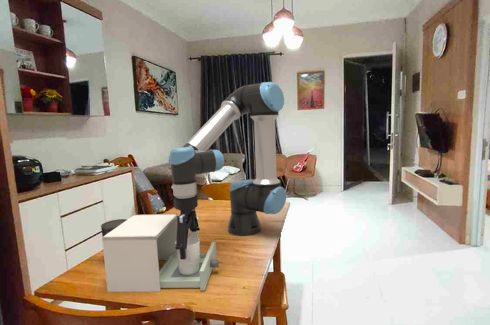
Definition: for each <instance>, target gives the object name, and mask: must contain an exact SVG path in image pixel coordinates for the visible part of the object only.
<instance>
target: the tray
mask: <svg viewBox="0 0 490 325" xmlns="http://www.w3.org/2000/svg"><path fill="white" fill-rule="evenodd" d="M216 245H217V242H216V241H212V242H211V243H210V245H209V248H208V251H207V253H200V269H199V271H198V272H197V273H195V274H191V275H183V274H180V272H179V268H178V262H177V255H176V254H171V256H170V257H169V258H168V260H166V261H165V262H164V264H163V265H162V267H161V268H160V269H159V276H160V289H163V288H164V289H165V288H166V289H168V288H170V289H171V288H173V289H174V288H179V289H181V288H183V289H184V288H187V289H188V288H191V289H192V288H197V289H198V288H200V291H206V287H207V285H208V282H209V279H210V276H211V274H212V271H213V268H219V259H217V246H216Z"/></svg>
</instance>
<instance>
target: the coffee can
mask: <svg viewBox="0 0 490 325" xmlns="http://www.w3.org/2000/svg"><path fill="white" fill-rule="evenodd" d="M128 219H129V218H127V219H125V218H119V219H112V220H108V221H106V222H104V223H101V225H100V228H101V236H102V237H104V236H105V235H106V234H108V233H109V232H111V231H112V230H114V229H115V228H116V227H118V226H119V225H121V224H122V223H123V222H125V221H126V220H128ZM102 237H101V238H102Z"/></svg>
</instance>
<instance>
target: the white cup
mask: <svg viewBox="0 0 490 325" xmlns="http://www.w3.org/2000/svg"><path fill="white" fill-rule="evenodd" d="M200 244H201V242H200V238H199V237H198V238H196V237H190V236H188V240H187V247H188V255H189V268H183V269H180V259H179V249H178V250H177V249H176V255H177V262H178V268H179V272H180V274H183V275H191V274H195V273H197V272H198V271H199V269H200V254H201V249H200V248H201V247H200V246H201V245H200ZM175 246H176V242H175Z"/></svg>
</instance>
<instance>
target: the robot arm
mask: <svg viewBox="0 0 490 325" xmlns="http://www.w3.org/2000/svg"><path fill="white" fill-rule="evenodd" d="M284 96H285V95H284V92H283V90H282V88H281V87H280V86H279V84H278V83H276V82H274V81H267V82H266V81H264V82H258V83H252V84H245V85H243V86H240V87H238V88H237V89H236V90H234V91H233V92H232V93H231V94H229V95H228V97H226V98H225V99H224V100H223V101H222V102H221V104H220V107H219V109H218V110H217V111H215V113H214V114H213V115H212V116H211V117H210V118H209V119H208V120H207V121H206V123H204V124H203V125H202V127H200V129H199V130H197V131H196V132H195V134H193V136H191V138H190V139H189V140H188V141H187V142H186V143H185V144H184V145H183V146H182V147H174V148H172V149H171V150H170V152H169V155H168V163H169V165H170V172H171V182H172V185H171V189H172V191H173V192H172V194H173V196H174V197H173V208H174V209H175V210H177V211H180V212H179V213H180V214H179V215H177V240H176V247H175V248H176V249H177V250H178V249H179V259H180V269H183V268H189V255H188V247H187V240H188V237H196V238H199V236H198V231H199V232H200V227H199V220H198V217H197V213H196V208H197V207H198V206H199V204H198V195H197V194H198V188H197V176H199V175H203V174H208V173H215V172H218V171H220V170H221V169H223V167H224V164H225V157H224V155H223V153H222V152H221V151H220V150H218V149H209V148H210V147H211V146H212V145H213V144H214V143H215V142H216V141H217V139H219V137H221V135H222V134H223V133H224V132H225V131H226V129H228V127H229V126H231V124H232V123H233V122H234V121H237V120H239V119H240V118H241V117H242V116H243V115H245V114H250V115H249V116H250V119H252V120H253V122H254V123H253V125H254V126H253V128H254V129H253V130H254V148H255V149H254V151H255V152H254V153H255V154H254V155H255V179H250V178H249V179H240V180H238V181H233V182H231V183H230V185H229V197H230V198H229V199H230V218H229V220H228V225H227V231H228V233H230V235H231V234H232V235H234V236H235V235H236V236H251V235H255V234H258V233H259V232H261V230H262V228H261V221H260V219H259V217H258V214H257V212H259V213H264V214H266V215H269V214H270V215H276V214H279V213H280V212H281V211H282V210H283V208H284V207H285V204H286V202H287V191H286V188H284V187H283V186H281V180H280V179H278V177H277V147H276V146H277V145H276V144H277V143H276V119H277V118H278V117H279V112H280V111H281V110H282V109H283V108H284V105H285V97H284Z"/></svg>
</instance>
